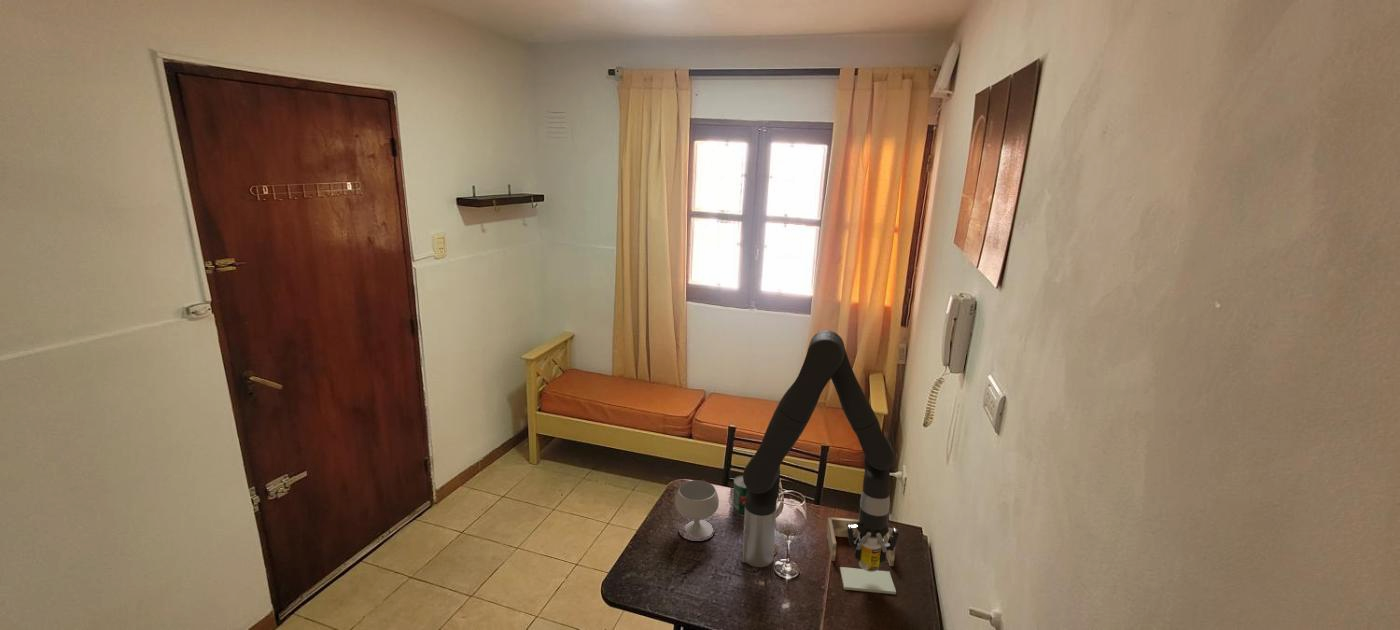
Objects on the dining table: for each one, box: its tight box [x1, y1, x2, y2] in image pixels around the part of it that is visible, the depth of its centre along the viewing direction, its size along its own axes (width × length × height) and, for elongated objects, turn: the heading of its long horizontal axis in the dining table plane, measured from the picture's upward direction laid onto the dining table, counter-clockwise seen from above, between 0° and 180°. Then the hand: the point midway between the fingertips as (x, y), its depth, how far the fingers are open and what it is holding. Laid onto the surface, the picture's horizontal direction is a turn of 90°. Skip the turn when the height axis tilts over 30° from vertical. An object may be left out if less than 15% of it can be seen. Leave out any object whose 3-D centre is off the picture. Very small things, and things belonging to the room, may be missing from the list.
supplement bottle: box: [858, 537, 881, 572], centre depth 147 cm, size 6×6×10 cm
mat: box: [839, 566, 897, 595], centre depth 149 cm, size 14×8×1 cm, turn 83°
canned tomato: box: [732, 475, 748, 517], centre depth 181 cm, size 8×8×11 cm
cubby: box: [826, 516, 896, 567], centre depth 162 cm, size 18×13×6 cm
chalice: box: [674, 479, 720, 537], centre depth 169 cm, size 14×14×15 cm
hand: (869, 559), depth 147 cm, fingers closed on supplement bottle, 5 cm apart
